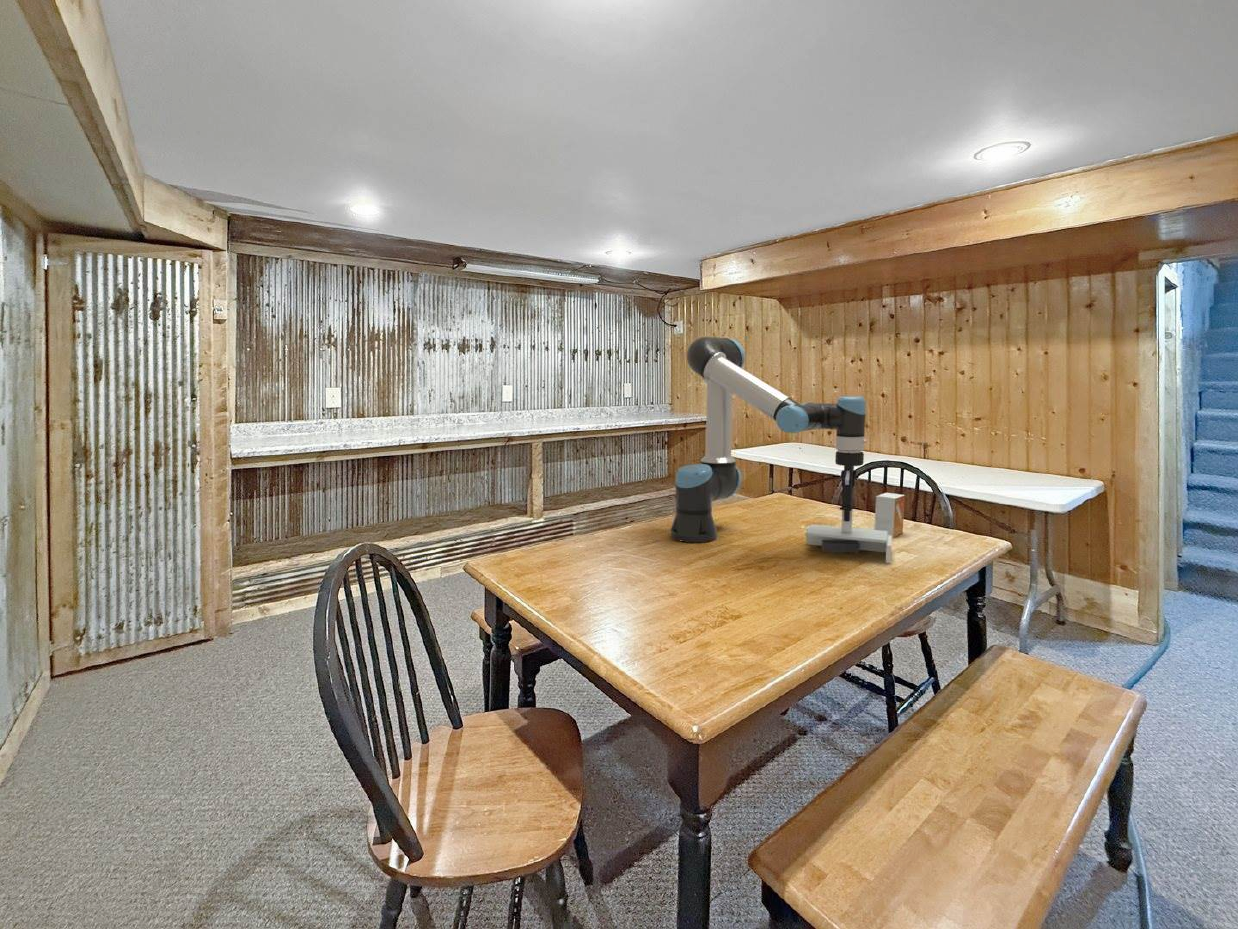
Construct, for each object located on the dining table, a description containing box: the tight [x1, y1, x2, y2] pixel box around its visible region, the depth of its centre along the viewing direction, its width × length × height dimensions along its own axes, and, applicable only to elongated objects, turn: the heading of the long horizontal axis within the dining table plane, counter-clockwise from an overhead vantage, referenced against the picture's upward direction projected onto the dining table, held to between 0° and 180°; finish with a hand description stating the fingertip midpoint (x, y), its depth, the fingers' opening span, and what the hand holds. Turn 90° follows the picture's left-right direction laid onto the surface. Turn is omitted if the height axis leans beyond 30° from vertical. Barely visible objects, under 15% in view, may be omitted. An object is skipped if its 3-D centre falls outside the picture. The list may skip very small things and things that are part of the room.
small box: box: [873, 492, 906, 539], centre depth 192 cm, size 8×6×13 cm
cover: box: [805, 524, 888, 543], centre depth 172 cm, size 22×12×1 cm, turn 65°
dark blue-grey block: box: [821, 540, 860, 553], centre depth 175 cm, size 10×4×3 cm, turn 82°
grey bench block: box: [805, 527, 893, 564], centre depth 174 cm, size 24×14×5 cm, turn 65°
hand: (846, 531), depth 171 cm, fingers closed
